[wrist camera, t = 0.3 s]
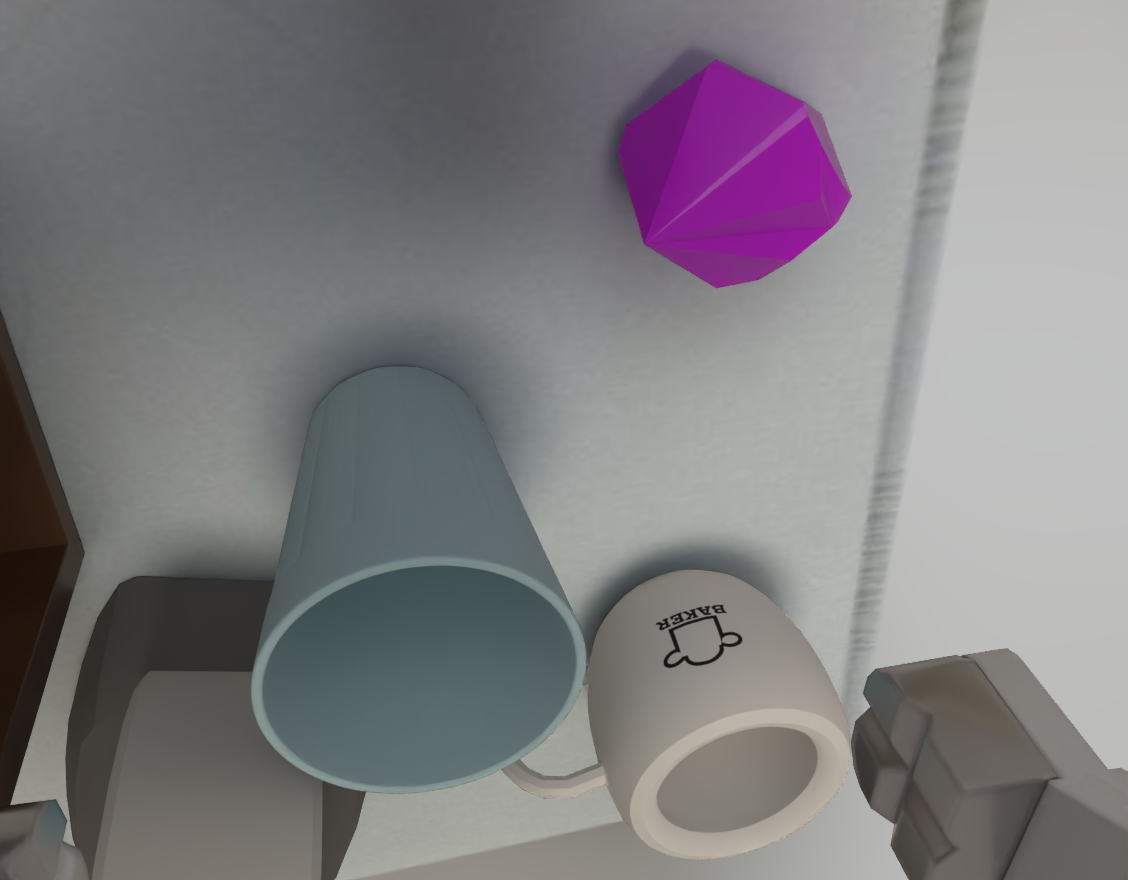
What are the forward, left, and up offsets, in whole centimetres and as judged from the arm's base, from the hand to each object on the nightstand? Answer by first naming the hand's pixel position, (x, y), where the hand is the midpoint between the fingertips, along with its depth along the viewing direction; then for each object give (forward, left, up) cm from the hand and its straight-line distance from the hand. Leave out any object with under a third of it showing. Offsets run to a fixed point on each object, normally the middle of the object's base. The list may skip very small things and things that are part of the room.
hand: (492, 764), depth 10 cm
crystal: (+1, +9, -20) cm, 22 cm away
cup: (+9, 0, -20) cm, 22 cm away
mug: (+19, +7, -20) cm, 29 cm away
